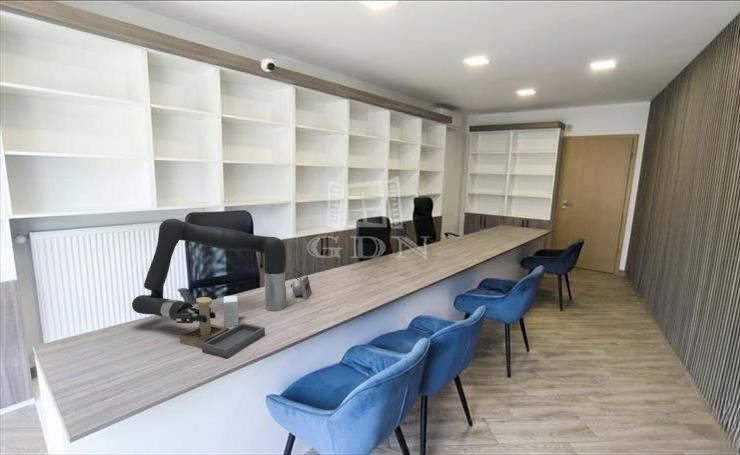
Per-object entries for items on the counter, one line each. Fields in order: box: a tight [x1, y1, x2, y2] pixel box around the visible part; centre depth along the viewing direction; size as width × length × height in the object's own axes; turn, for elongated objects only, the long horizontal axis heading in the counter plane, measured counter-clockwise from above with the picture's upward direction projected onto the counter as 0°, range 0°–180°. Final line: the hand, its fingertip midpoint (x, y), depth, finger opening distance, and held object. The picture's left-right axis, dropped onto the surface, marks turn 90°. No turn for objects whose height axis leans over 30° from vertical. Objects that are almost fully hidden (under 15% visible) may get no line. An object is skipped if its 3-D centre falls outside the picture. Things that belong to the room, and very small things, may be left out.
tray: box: [201, 322, 266, 359], centre depth 131 cm, size 20×11×3 cm, turn 158°
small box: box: [222, 295, 239, 328], centre depth 149 cm, size 8×6×10 cm
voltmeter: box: [289, 268, 312, 300], centre depth 191 cm, size 26×11×10 cm, turn 30°
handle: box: [195, 296, 213, 339], centre depth 133 cm, size 5×6×15 cm
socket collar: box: [179, 323, 230, 349], centre depth 134 cm, size 12×12×3 cm
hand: (210, 317), depth 132 cm, fingers closed on handle, 3 cm apart
